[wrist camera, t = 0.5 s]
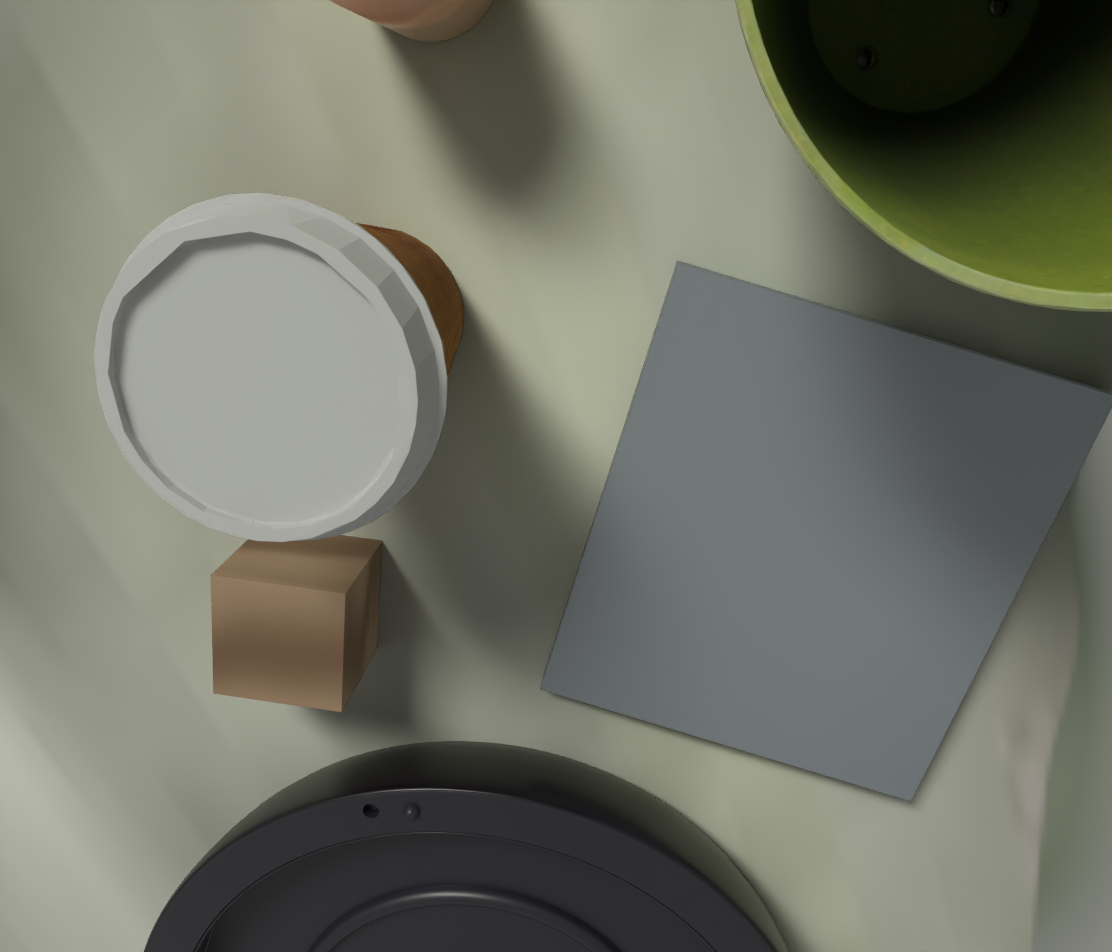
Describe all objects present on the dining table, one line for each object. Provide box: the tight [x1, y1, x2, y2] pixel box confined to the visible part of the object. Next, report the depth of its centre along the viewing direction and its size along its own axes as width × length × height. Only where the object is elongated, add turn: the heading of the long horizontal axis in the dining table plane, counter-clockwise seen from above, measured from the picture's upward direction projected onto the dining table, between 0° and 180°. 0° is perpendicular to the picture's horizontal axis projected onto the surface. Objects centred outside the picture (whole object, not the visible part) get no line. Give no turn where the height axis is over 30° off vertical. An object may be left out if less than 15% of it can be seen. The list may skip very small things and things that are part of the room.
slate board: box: [540, 261, 1112, 801], centre depth 36 cm, size 18×16×1 cm
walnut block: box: [211, 535, 382, 712], centre depth 37 cm, size 5×5×5 cm
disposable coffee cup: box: [94, 193, 464, 542], centre depth 30 cm, size 10×10×12 cm
